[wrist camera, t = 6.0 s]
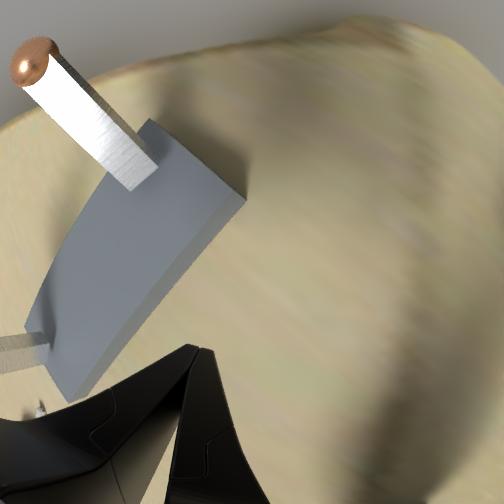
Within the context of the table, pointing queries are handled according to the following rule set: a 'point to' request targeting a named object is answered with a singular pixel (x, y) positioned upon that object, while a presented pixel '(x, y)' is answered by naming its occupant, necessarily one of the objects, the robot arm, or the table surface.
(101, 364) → the switch board
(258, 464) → the table surface
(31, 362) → the beige grey bar
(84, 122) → the copper knob rod
